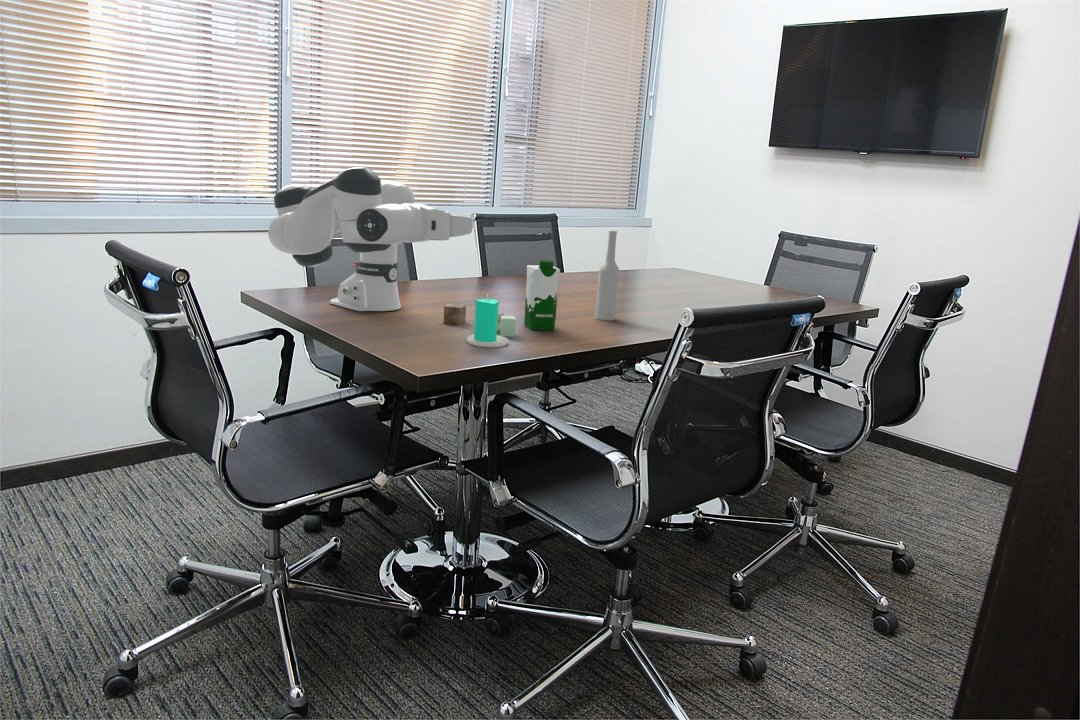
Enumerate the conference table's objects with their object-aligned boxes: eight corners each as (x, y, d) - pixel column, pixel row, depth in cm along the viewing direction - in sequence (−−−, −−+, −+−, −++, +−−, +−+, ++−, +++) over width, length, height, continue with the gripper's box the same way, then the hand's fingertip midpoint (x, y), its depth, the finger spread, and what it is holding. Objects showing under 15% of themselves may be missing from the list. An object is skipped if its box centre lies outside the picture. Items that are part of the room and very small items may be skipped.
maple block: (477, 329, 218) (478, 312, 217) (494, 327, 222) (495, 310, 221) (485, 332, 215) (486, 314, 214) (502, 330, 219) (503, 313, 218)
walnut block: (443, 322, 223) (444, 306, 222) (449, 319, 228) (450, 303, 227) (459, 324, 222) (460, 307, 221) (465, 321, 227) (466, 305, 226)
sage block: (500, 336, 211) (501, 318, 210) (499, 332, 215) (500, 315, 214) (515, 336, 212) (516, 319, 211) (513, 333, 216) (514, 316, 215)
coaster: (458, 342, 201) (458, 338, 200) (481, 335, 210) (481, 332, 210) (494, 349, 196) (494, 346, 195) (515, 342, 205) (515, 338, 205)
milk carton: (530, 331, 220) (535, 262, 215) (520, 324, 228) (524, 257, 223) (558, 330, 223) (563, 262, 218) (547, 324, 231) (552, 258, 226)
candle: (475, 341, 198) (477, 296, 195) (472, 336, 204) (475, 292, 201) (497, 342, 200) (500, 297, 197) (495, 337, 205) (497, 293, 202)
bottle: (614, 321, 242) (622, 232, 235) (593, 319, 243) (601, 230, 236) (616, 317, 248) (624, 231, 241) (596, 315, 249) (603, 229, 242)
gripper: (379, 231, 180) (415, 229, 192) (451, 241, 171) (484, 238, 183) (380, 204, 179) (416, 203, 191) (452, 212, 170) (485, 211, 181)
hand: (450, 220), depth 187 cm, fingers open, 8 cm apart
